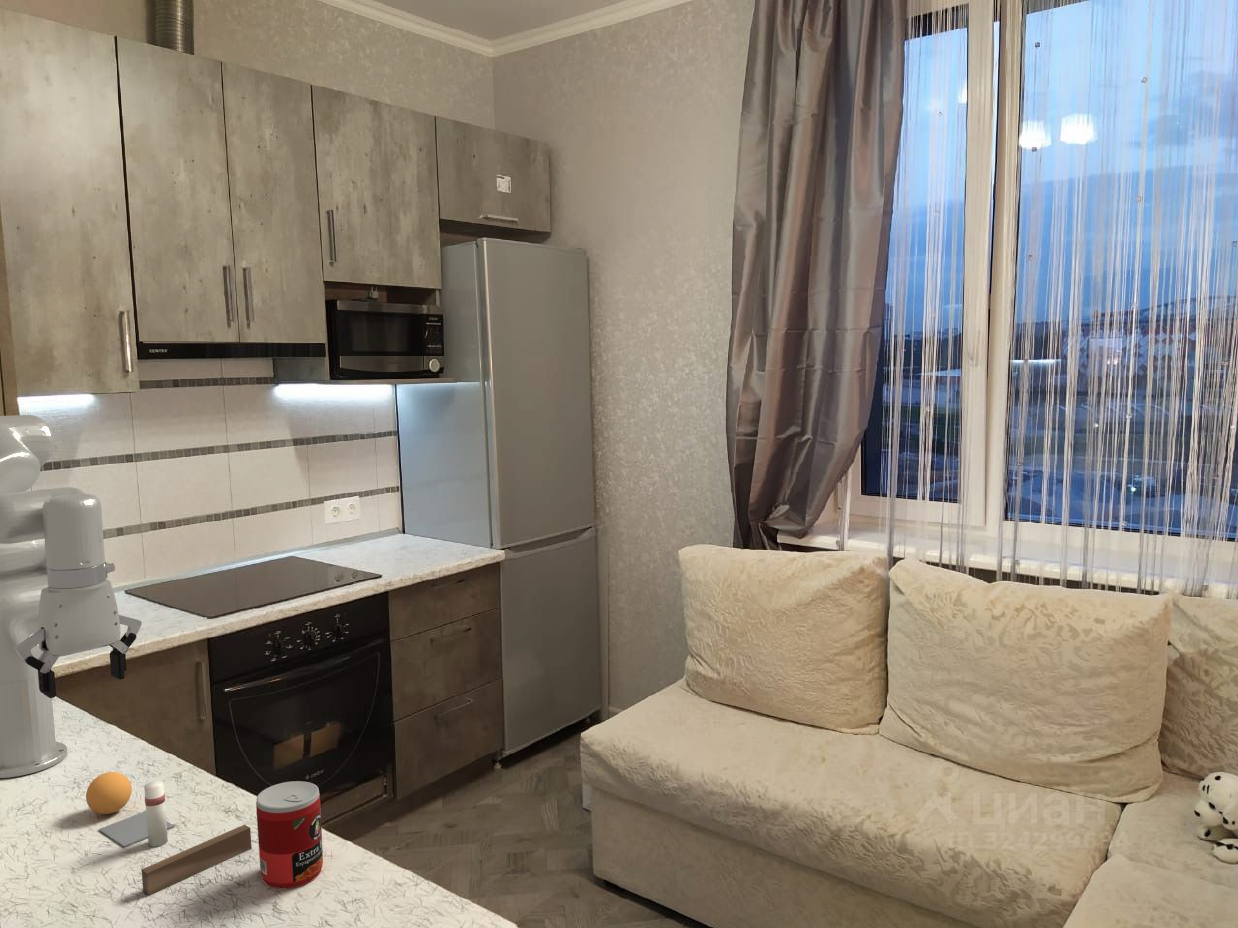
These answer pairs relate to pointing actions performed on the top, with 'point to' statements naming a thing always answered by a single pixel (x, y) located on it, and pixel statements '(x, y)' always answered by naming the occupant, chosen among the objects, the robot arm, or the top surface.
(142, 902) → the top surface
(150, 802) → the pin
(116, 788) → the ball
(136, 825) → the grey flat plate
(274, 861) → the canned food
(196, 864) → the back wall
